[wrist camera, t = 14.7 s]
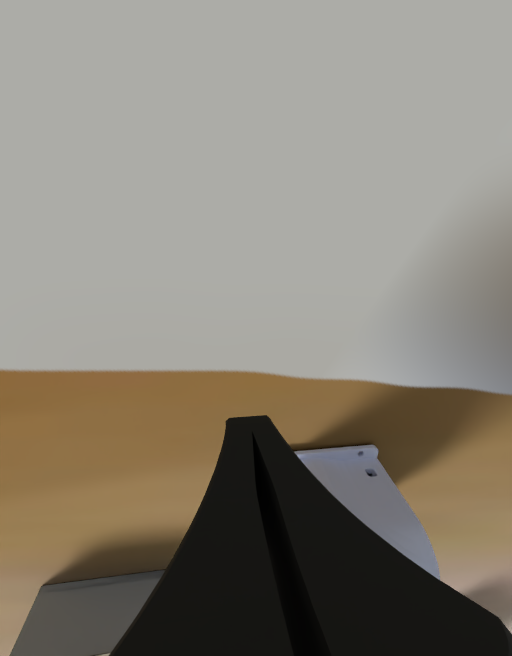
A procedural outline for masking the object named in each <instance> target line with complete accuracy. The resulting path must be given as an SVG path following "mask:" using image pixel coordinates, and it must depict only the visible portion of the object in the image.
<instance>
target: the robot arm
mask: <svg viewBox="0 0 512 656" xmlns="http://www.w3.org/2000/svg"><path fill="white" fill-rule="evenodd" d="M360 451H361V452H360ZM359 452H360V453H359ZM377 456H378V449H377V447H376V446H375V445H362V446H351V447H339V448H328V449H317V450H305V451H293V450H292V449H291V447H290V446H289V445H288V444H287V442H286V441H285V440H284V438H283V437H282V436H281V434H280V433H279V431H278V430H277V428H276V427H275V425H274V424H273V422H272V421H271V419H270V418H269V417H268V416H267V415H264V416H250V417H236V418H229V419H228V420H227V421H226V430H225V436H224V441H223V445H222V449H221V452H220V455H219V458H218V461H217V465H216V468H215V470H214V473H213V476H212V478H211V481H210V483H209V486H208V488H207V491H206V493H205V496H204V498H203V500H202V502H201V505H200V507H199V509H198V511H197V513H196V515H195V517H194V519H193V521H192V523H191V525H190V527H189V529H188V531H187V533H186V535H185V537H184V538H183V540H182V542H181V544H180V546H179V548H178V549H177V551H176V553H175V555H174V557H173V558H172V560H171V562H170V564H169V565H168V567H167V569H166V570H165V572H164V574H163V575H162V577H161V578H160V580H159V581H158V583H157V585H156V586H155V588H154V589H153V591H152V592H151V594H150V596H149V597H148V599H147V600H146V602H145V604H144V605H143V607H142V608H141V610H140V611H139V613H138V614H137V616H136V617H135V619H134V620H133V622H132V623H131V625H130V626H129V628H128V629H127V631H126V632H125V633H124V635H123V636H122V638H121V639H120V640H119V642H118V643H117V645H116V646H115V647H114V649H113V650H112V652H111V653H110V655H109V656H512V634H511V633H510V632H509V630H508V629H507V628H506V626H505V625H504V624H503V623H502V621H501V620H500V619H499V617H497V616H495V615H494V614H492V613H491V612H489V611H488V610H486V609H484V608H483V607H481V606H480V605H478V604H477V603H475V602H473V601H472V600H470V599H469V598H467V597H465V596H464V595H462V594H461V593H459V592H458V591H456V590H454V589H453V588H451V587H450V586H448V585H447V584H445V583H443V582H442V581H440V573H439V568H438V563H437V560H436V557H435V554H434V551H433V548H432V545H431V543H430V540H429V538H428V536H427V534H426V532H425V530H424V528H423V526H422V524H421V523H420V521H419V520H418V518H417V517H416V515H415V514H414V512H413V511H412V509H411V508H410V506H409V505H408V503H407V502H406V500H405V499H404V497H403V496H402V494H401V493H400V491H399V490H398V488H397V487H396V485H395V484H394V482H393V481H392V479H391V478H390V476H389V475H388V473H387V472H386V470H385V469H384V467H383V466H382V464H381V463H380V462H379V460H378V459H377Z"/></svg>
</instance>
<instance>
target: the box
mask: <svg viewBox="0 0 512 656" xmlns="http://www.w3.org/2000/svg"><path fill="white" fill-rule="evenodd" d="M164 572H165V570H160V571H152V572H144V573H137V574H129V575H121V576H114V577H106V578H99V579H91V580H83V581H76V582H68V583H60V584H53V585H45V586H41V588H40V590H39V593H38V595H37V597H36V599H35V601H34V604H33V606H32V608H31V610H30V612H29V614H28V617H27V619H26V621H25V623H24V625H23V628H22V630H21V632H20V634H19V636H18V639H17V641H16V643H15V645H14V647H13V649H12V652H11V654H10V656H98V655H103V654H108V653H111V652H112V650H113V649H114V647H115V646H116V645H117V643H118V642H119V640H120V639H121V638H122V636H123V635H124V633H125V632H126V631H127V629H128V628H129V626H130V625H131V623H132V622H133V620H134V619H135V617H136V616H137V614H138V613H139V611H140V610H141V608H142V607H143V605H144V604H145V602H146V600H147V599H148V597H149V596H150V594H151V592H152V591H153V589H154V588H155V586H156V585H157V583H158V581H159V580H160V578H161V577H162V575H163V574H164Z"/></svg>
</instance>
